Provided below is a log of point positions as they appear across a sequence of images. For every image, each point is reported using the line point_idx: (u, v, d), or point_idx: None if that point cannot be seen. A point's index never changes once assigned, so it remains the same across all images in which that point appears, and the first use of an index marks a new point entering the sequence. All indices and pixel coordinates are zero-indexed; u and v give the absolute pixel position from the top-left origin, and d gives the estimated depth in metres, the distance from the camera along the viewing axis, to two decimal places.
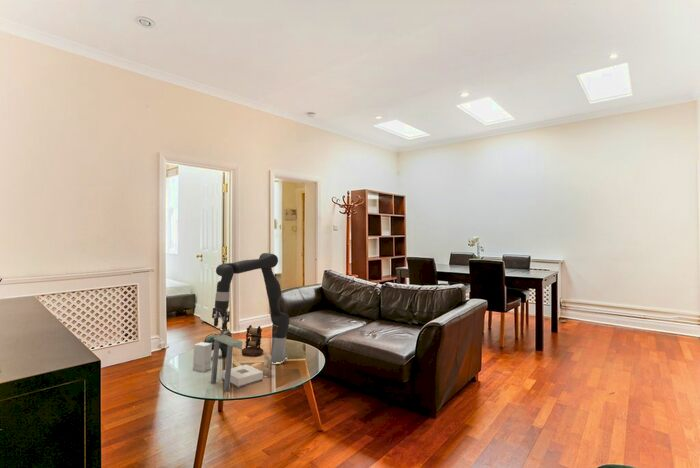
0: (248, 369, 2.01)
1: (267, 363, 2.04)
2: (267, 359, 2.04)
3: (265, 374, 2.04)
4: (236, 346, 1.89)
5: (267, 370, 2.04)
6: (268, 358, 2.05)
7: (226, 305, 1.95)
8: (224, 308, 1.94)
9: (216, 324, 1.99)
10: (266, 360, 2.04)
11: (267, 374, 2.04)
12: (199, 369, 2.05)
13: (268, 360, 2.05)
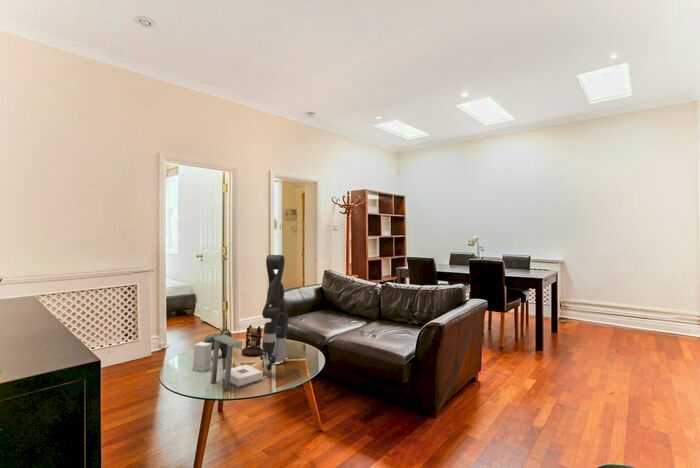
0: (248, 369, 2.01)
1: (267, 363, 2.04)
2: None
3: (265, 374, 2.04)
4: (236, 346, 1.89)
5: (267, 370, 2.04)
6: None
7: (273, 346, 2.05)
8: (271, 349, 2.04)
9: None
10: (266, 360, 2.04)
11: (267, 374, 2.04)
12: (199, 369, 2.05)
13: None
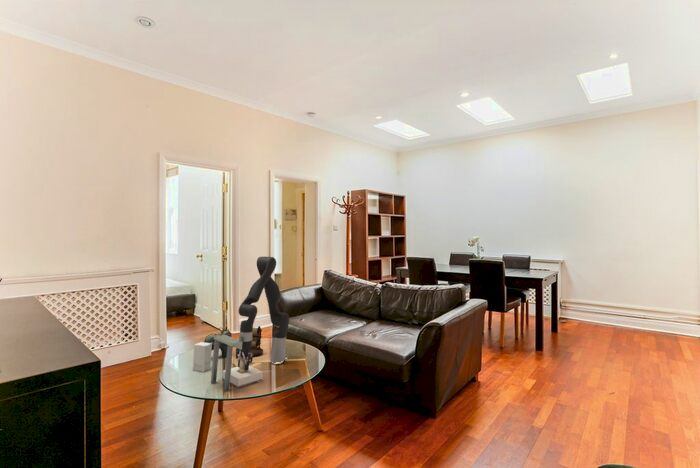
0: (248, 369, 2.01)
1: (243, 365, 1.96)
2: (243, 361, 1.96)
3: None
4: (236, 346, 1.89)
5: (243, 372, 1.96)
6: None
7: (249, 345, 1.97)
8: (248, 348, 1.96)
9: None
10: (242, 362, 1.96)
11: None
12: (199, 369, 2.05)
13: (244, 362, 1.96)
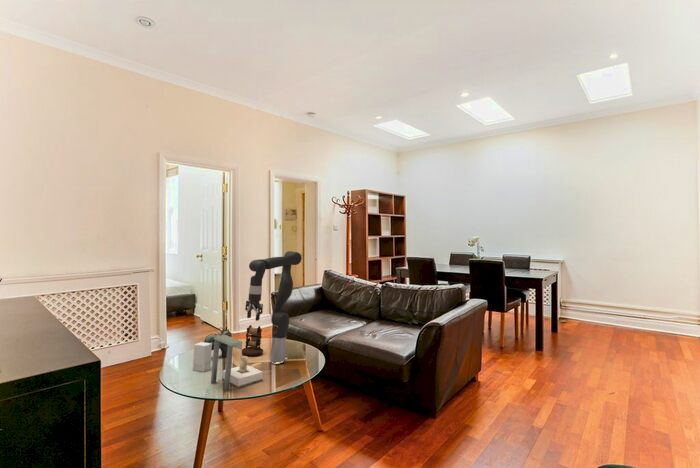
0: (248, 369, 2.01)
1: (243, 365, 1.96)
2: (243, 360, 1.96)
3: None
4: (236, 346, 1.89)
5: (243, 372, 1.96)
6: (244, 359, 1.96)
7: (259, 298, 2.10)
8: (257, 301, 2.09)
9: (249, 316, 2.14)
10: (242, 362, 1.96)
11: None
12: (199, 369, 2.05)
13: (244, 362, 1.96)
